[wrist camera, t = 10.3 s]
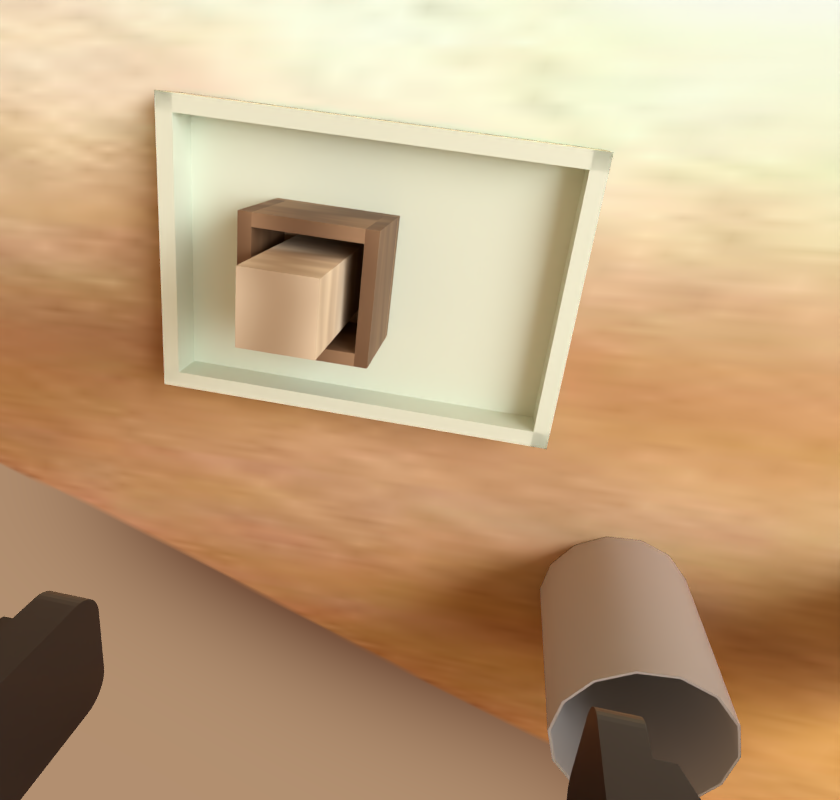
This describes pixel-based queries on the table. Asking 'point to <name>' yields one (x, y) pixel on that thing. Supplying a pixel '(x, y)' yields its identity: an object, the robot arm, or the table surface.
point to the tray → (414, 263)
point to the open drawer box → (372, 229)
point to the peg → (297, 295)
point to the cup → (634, 658)
